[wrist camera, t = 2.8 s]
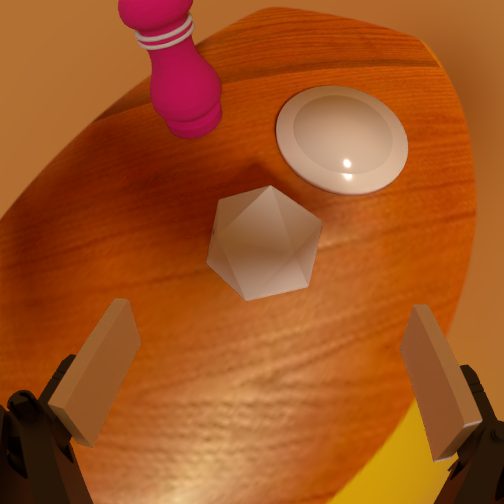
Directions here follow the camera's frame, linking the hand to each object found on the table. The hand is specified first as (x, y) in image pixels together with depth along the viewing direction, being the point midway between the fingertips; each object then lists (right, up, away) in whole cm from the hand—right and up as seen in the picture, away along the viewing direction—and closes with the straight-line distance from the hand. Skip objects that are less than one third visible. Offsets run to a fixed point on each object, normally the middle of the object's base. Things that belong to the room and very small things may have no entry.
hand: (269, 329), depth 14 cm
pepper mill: (-7, +18, +20) cm, 28 cm away
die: (0, +3, +14) cm, 15 cm away
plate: (+9, +15, +17) cm, 25 cm away
